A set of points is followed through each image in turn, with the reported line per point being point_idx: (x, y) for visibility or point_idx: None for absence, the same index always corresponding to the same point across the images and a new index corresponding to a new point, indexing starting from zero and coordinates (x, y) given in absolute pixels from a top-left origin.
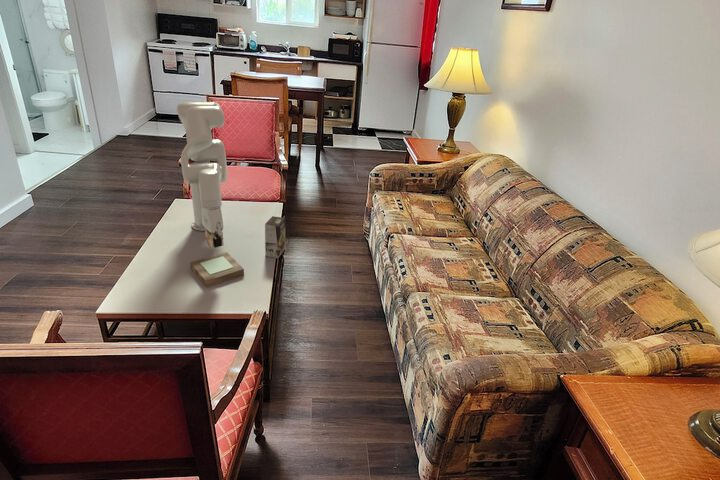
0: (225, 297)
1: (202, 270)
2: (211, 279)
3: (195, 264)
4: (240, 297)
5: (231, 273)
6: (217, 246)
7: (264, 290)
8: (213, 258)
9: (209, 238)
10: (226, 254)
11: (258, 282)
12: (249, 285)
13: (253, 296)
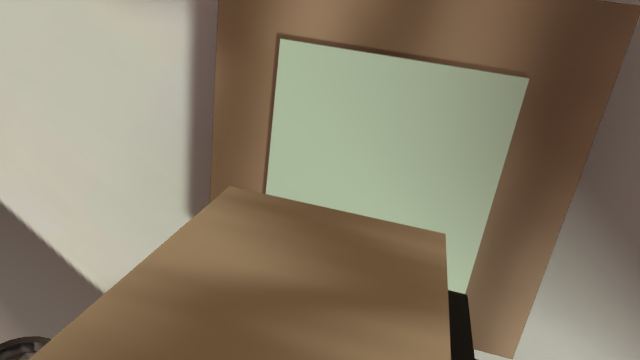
0: (71, 4)
1: (396, 26)
2: (219, 10)
3: (549, 30)
4: (32, 81)
5: (212, 185)
6: None
7: (35, 224)
8: (506, 222)
9: (189, 299)
10: (476, 331)
11: (116, 254)
12: (115, 200)
13: (11, 145)
